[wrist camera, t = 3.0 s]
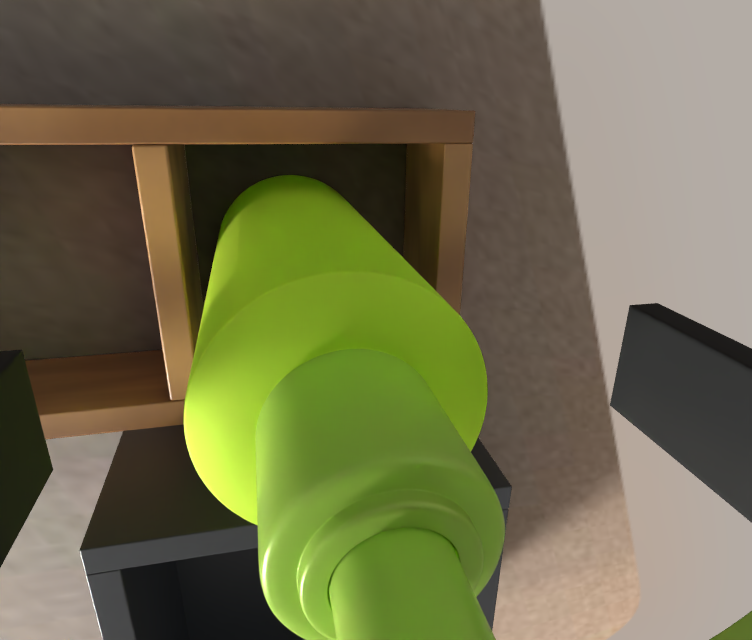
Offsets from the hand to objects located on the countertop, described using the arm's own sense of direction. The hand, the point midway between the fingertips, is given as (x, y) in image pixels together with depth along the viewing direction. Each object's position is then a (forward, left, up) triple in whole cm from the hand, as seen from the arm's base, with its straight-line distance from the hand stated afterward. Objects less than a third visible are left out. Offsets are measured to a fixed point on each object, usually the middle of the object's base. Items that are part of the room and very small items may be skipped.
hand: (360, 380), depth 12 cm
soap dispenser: (0, 0, -12) cm, 12 cm away
